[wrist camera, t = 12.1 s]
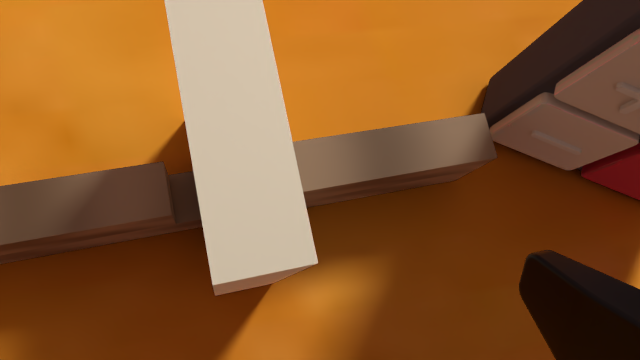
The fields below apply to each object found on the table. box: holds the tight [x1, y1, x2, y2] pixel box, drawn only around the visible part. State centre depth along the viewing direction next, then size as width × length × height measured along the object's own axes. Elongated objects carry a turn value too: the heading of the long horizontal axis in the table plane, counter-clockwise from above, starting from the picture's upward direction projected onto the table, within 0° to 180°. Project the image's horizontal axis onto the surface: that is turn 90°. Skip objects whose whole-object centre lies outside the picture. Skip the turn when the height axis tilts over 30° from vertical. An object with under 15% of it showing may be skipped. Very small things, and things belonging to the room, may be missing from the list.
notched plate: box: [165, 0, 318, 296], centre depth 18 cm, size 8×2×10 cm, turn 13°
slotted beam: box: [0, 113, 498, 264], centre depth 21 cm, size 22×2×4 cm, turn 103°
